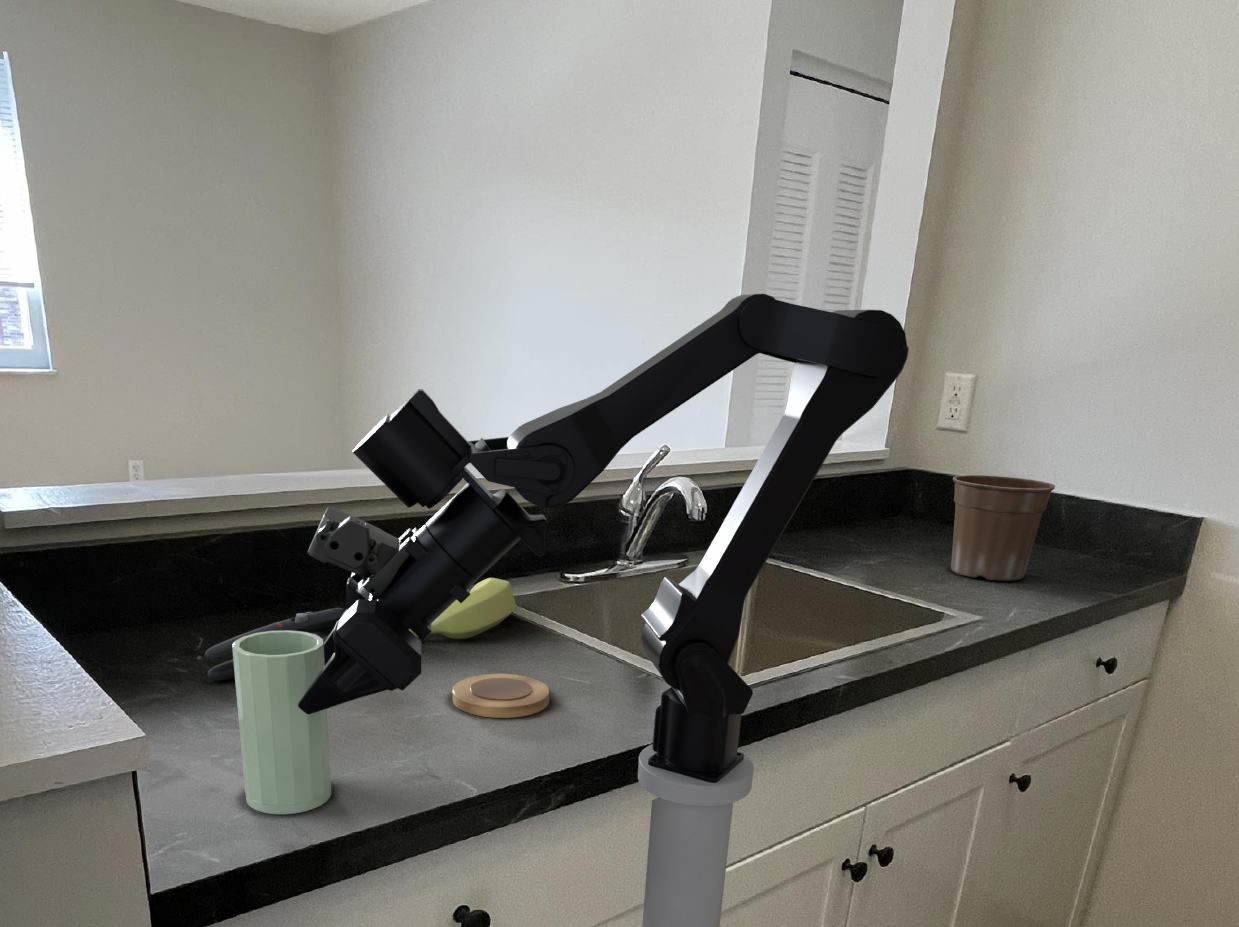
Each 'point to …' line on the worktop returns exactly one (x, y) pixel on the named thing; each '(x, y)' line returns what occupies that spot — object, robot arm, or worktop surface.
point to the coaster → (500, 695)
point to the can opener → (302, 622)
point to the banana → (476, 610)
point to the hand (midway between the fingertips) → (309, 688)
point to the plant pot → (996, 525)
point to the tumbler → (281, 722)
